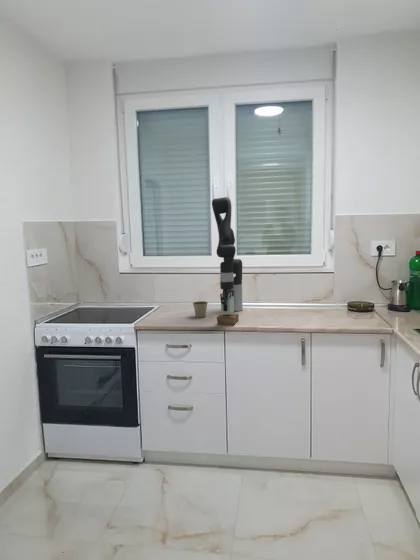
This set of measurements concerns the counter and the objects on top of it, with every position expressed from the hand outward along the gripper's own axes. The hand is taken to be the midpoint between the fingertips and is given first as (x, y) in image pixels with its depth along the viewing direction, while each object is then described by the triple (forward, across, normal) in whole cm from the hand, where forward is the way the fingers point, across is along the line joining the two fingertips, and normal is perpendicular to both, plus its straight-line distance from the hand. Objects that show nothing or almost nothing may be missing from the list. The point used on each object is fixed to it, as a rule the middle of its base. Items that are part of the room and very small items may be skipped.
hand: (227, 309), depth 237 cm
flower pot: (+8, -10, -23) cm, 26 cm away
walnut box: (+8, 0, 0) cm, 8 cm away
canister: (+2, 0, 0) cm, 2 cm away
